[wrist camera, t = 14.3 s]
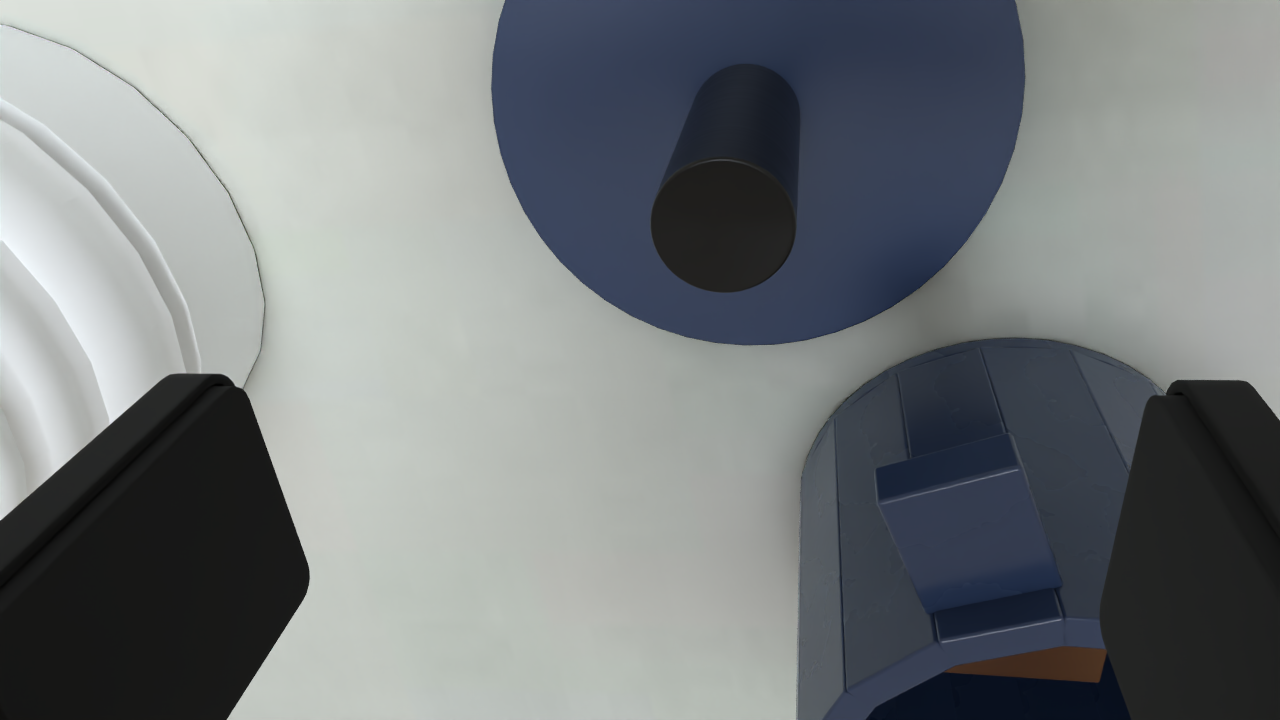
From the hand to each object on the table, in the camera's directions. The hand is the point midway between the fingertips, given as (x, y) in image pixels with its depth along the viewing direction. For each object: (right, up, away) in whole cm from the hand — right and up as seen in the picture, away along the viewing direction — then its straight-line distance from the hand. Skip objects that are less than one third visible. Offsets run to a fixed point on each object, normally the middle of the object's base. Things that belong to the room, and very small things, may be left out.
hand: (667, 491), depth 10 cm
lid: (+2, +7, +11) cm, 13 cm away
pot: (+10, -3, +16) cm, 19 cm away
